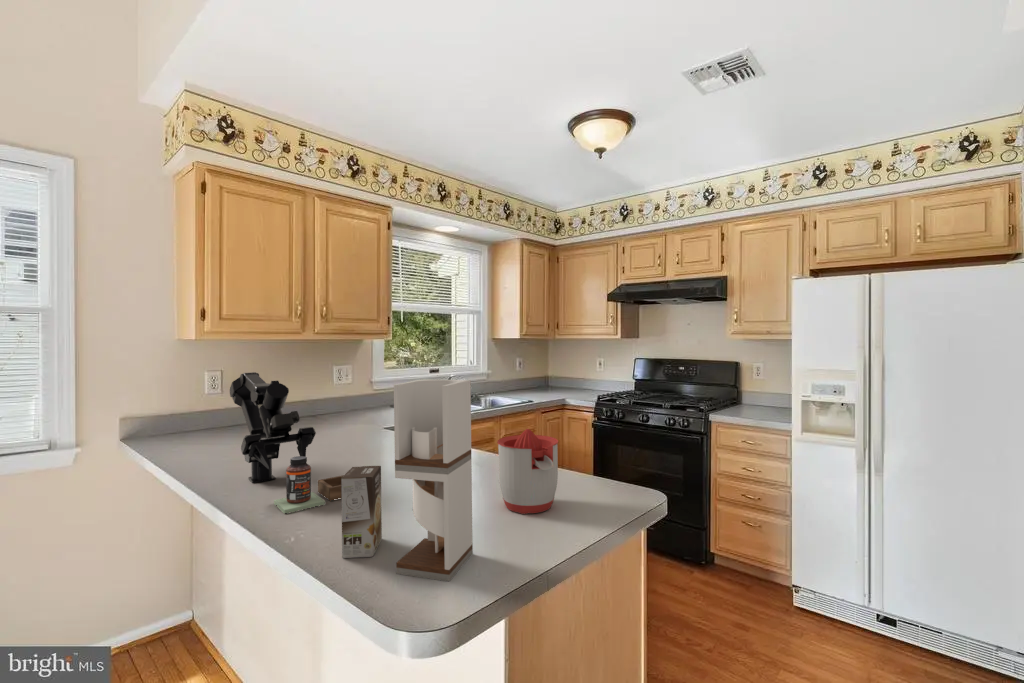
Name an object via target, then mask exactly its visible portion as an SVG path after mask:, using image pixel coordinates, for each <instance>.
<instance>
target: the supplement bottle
mask: <svg viewBox="0 0 1024 683" xmlns="http://www.w3.org/2000/svg"><path fill="white" fill-rule="evenodd" d="M307 458H308V457H307V456H306V457H305V456H300V455H299V456H293V457H291V458H290V460H289V461H290V462H289V463H290V465H289V466H287V468H286V475H285V476H286V480H285V482H286V496H285V498H287V502H289V503H302V502H306V501H308V500H309V499H310V498H311V492H312V476H311V475H312V472H311V471H312V470H311V469H312V467H311V464H308V462H307V461H308V459H307Z"/></svg>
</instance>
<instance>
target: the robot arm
mask: <svg viewBox="0 0 1024 683" xmlns="http://www.w3.org/2000/svg"><path fill="white" fill-rule="evenodd" d="M289 392H290V390H289V388H288V387H287V385H285V384H283V383H281V382H280V381H279V380H271V381H270V383H269V382H268V383H267V382H266V381H265V380H264V379H263V378H262V377H261V376H260V374H259V372H254V371H253V372H243V373H240V376H239V377H238V378H236V379H234V380H233V381H232V382H231V384H230V387H229V396H230V398H231V399H232V401H233V403H234V404H236V405H237V406H239V407H241V410H242V413H243V416H244V419H245V422H246V426H247V428H248V432H249V434H248V435H247V434H246V435H245V436H244V437H243V440H242V444H241V447H240V449H241V450H240V451H241V453H242V455H243V456H244V461H245V462H246V463H248V464H250V463H251V476H248V478H247V480H249V481H250V482H251V483H252V484H255V483H262V482H266V481H272V480H276V476H275V475H273V460H274V459H279V456H280V447H281V444H285V443H292V442H296V445H297V447H296V449H297V452H298V454H299V456H305V457H307V456H306V454H307V448H308V447H309V445H311V444H312V443H313V441H314V438H315V436H316V434H317V433H316V429H315V428H314V427H313V426H307V427H306V426H305V427H300V428H299V429H298V430H297V431H298V432H297V433H291V434H290V432H292V429H293V428H292V426H294V424H297V423H298V422H300V420H301V418H300V415H299V412H298V410H296V411H295V410H292V411H291V412H289V413H283V411H282V409H284V407H285V404H286V402H287V399H288V395H289ZM259 406H260V407H259Z"/></svg>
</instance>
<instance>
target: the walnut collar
mask: <svg viewBox="0 0 1024 683" xmlns="http://www.w3.org/2000/svg"><path fill="white" fill-rule="evenodd" d="M344 475H345V474H343V475H338V476H333V477H332V476H331V477H327V478H323V479H317V493H318V492H319V493H320V495H321V494H322V495H323V496H322V495H321V496H322V497H324V496H325V497H326V498H328V499H329V500H330V501H329V500H328V499H327V500H328V501H329V502H332V501H331V500H334V499H338V498H342V488H341V478H342V477H343V476H344ZM319 493H318V494H319ZM325 497H324V498H325ZM326 498H325V499H326ZM334 501H335V500H334Z"/></svg>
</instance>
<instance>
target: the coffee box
mask: <svg viewBox="0 0 1024 683" xmlns="http://www.w3.org/2000/svg"><path fill="white" fill-rule="evenodd" d="M343 475H344V476H343V477H342V478H341V488H342V499H341V558H342V559H353V558H372V557H374V555H375V553H376V552H377V550H378V547H379V545H380V543H381V542H382V539H383V538H382V537H383V536H382V535H383V534H382V532H383V529H382V528H383V526H382V524H383V523H382V519H383V518H382V466H381V465H363V466H361V465H360V466H352V467H351V468H350V469H349V470H347V471H346V472H345V474H343Z"/></svg>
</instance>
